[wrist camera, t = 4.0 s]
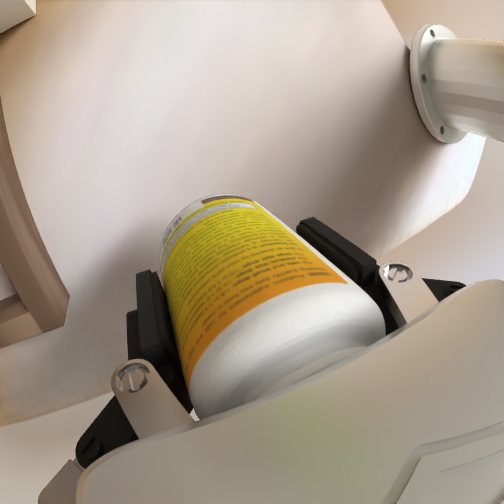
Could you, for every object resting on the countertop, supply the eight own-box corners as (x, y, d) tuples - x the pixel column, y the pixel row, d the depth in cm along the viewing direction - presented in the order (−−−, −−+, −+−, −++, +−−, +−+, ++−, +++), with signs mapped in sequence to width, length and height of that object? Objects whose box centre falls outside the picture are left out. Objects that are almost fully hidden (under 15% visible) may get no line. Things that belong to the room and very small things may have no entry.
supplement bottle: (135, 268, 12) (170, 511, 4) (208, 164, 11) (406, 329, 3) (227, 314, 15) (322, 490, 7) (295, 232, 14) (457, 376, 6)
